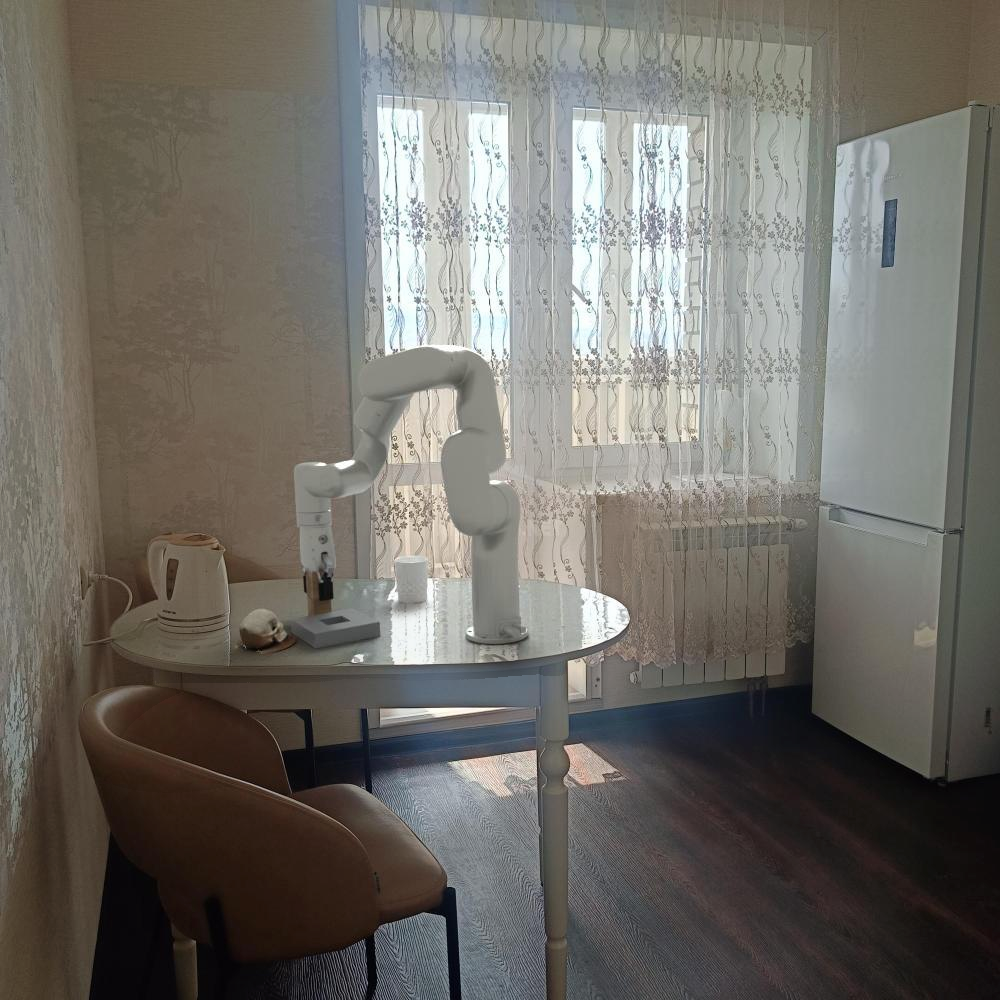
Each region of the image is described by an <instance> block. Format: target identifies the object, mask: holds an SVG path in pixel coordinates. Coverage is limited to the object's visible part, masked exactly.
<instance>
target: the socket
mask: <svg viewBox="0 0 1000 1000" xmlns="http://www.w3.org/2000/svg"><path fill="white" fill-rule="evenodd" d="M290 624H291V625H290V627H291V633H292V635H293V636H296V637H297V638H299V639H300V640H302V641H303V642H305V643H307V644H308V645H310V646H311V647H313V648H314V649H319V648H325V647H330V646H335V645H342V644H346V643H351V642H352V643H353V642H357V641H361V639H362V640H365V639H367V638H368V639H372V638H376V637H377V638H378V637H381V625H380V624H381V623H380V621H379V620H377V619H375V618H373V617H370V616H369V615H367V614H365V613H364V612H361V611H359V610H358V609H356V608H352V607H351V608H347V609H340V610H335V611H332V612H328V613H323V614H317V615H311V616H308V615H307V616H300V617H295V618H291V619H290Z"/></svg>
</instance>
